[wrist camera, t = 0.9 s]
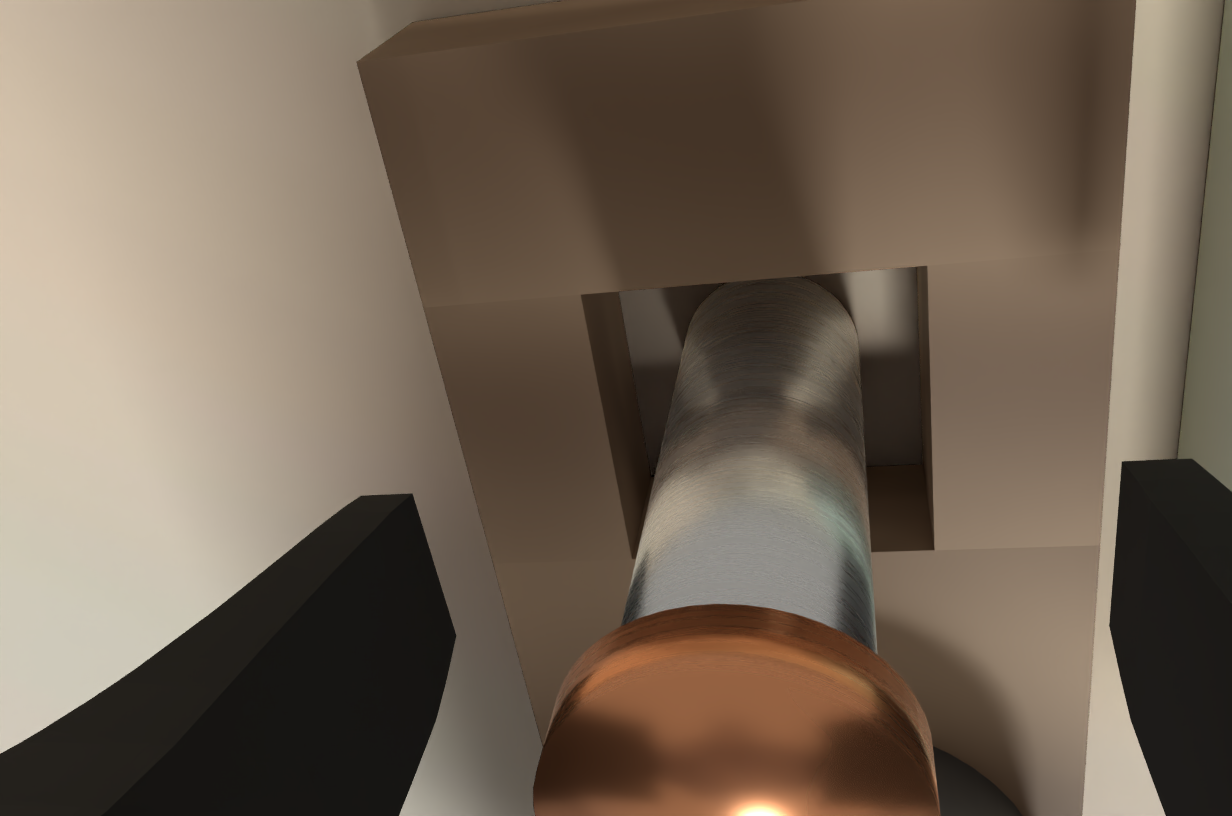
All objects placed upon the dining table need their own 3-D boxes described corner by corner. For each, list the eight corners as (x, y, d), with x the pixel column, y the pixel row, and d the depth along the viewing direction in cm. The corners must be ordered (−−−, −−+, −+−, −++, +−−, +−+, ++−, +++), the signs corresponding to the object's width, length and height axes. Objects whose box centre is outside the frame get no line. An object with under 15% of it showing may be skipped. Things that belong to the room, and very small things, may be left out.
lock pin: (892, 441, 16) (944, 961, 9) (673, 453, 17) (572, 942, 10) (883, 233, 14) (939, 675, 8) (641, 255, 15) (494, 679, 8)
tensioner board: (1046, 943, 21) (1111, 1287, 16) (632, 926, 23) (584, 1232, 18) (1095, -76, 12) (1262, 42, 8) (413, 22, 14) (208, 167, 9)
